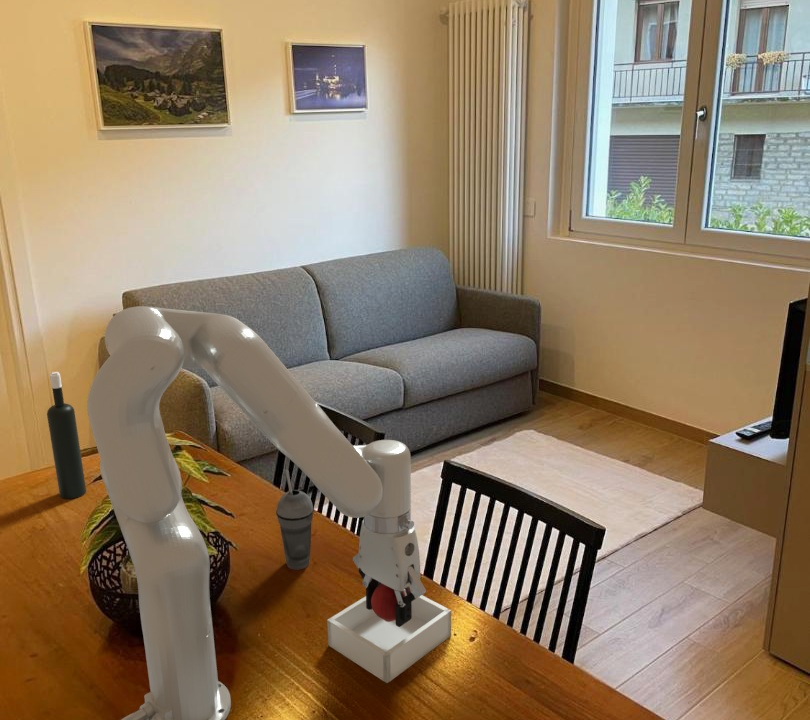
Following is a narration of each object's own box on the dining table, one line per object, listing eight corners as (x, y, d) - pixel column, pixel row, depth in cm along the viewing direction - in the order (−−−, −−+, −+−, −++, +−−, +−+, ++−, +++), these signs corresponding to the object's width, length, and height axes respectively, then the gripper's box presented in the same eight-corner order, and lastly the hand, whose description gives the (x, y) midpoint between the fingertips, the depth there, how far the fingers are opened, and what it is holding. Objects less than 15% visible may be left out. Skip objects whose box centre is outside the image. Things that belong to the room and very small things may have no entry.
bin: (387, 683, 121) (386, 656, 120) (328, 645, 130) (327, 619, 128) (451, 635, 132) (451, 610, 131) (392, 603, 141) (392, 579, 139)
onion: (403, 608, 133) (403, 567, 131) (409, 629, 127) (409, 587, 125) (369, 612, 132) (368, 570, 130) (374, 633, 127) (373, 590, 124)
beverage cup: (306, 576, 150) (301, 481, 144) (272, 569, 152) (266, 476, 146) (322, 556, 156) (318, 465, 150) (289, 550, 158) (284, 460, 152)
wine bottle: (69, 501, 180) (50, 378, 171) (54, 495, 183) (35, 374, 174) (91, 491, 185) (73, 371, 176) (76, 485, 188) (58, 367, 179)
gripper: (444, 526, 121) (443, 625, 126) (366, 492, 132) (368, 584, 138) (411, 545, 116) (412, 647, 121) (333, 508, 127) (336, 603, 132)
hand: (388, 613), depth 129 cm, fingers open, 6 cm apart
